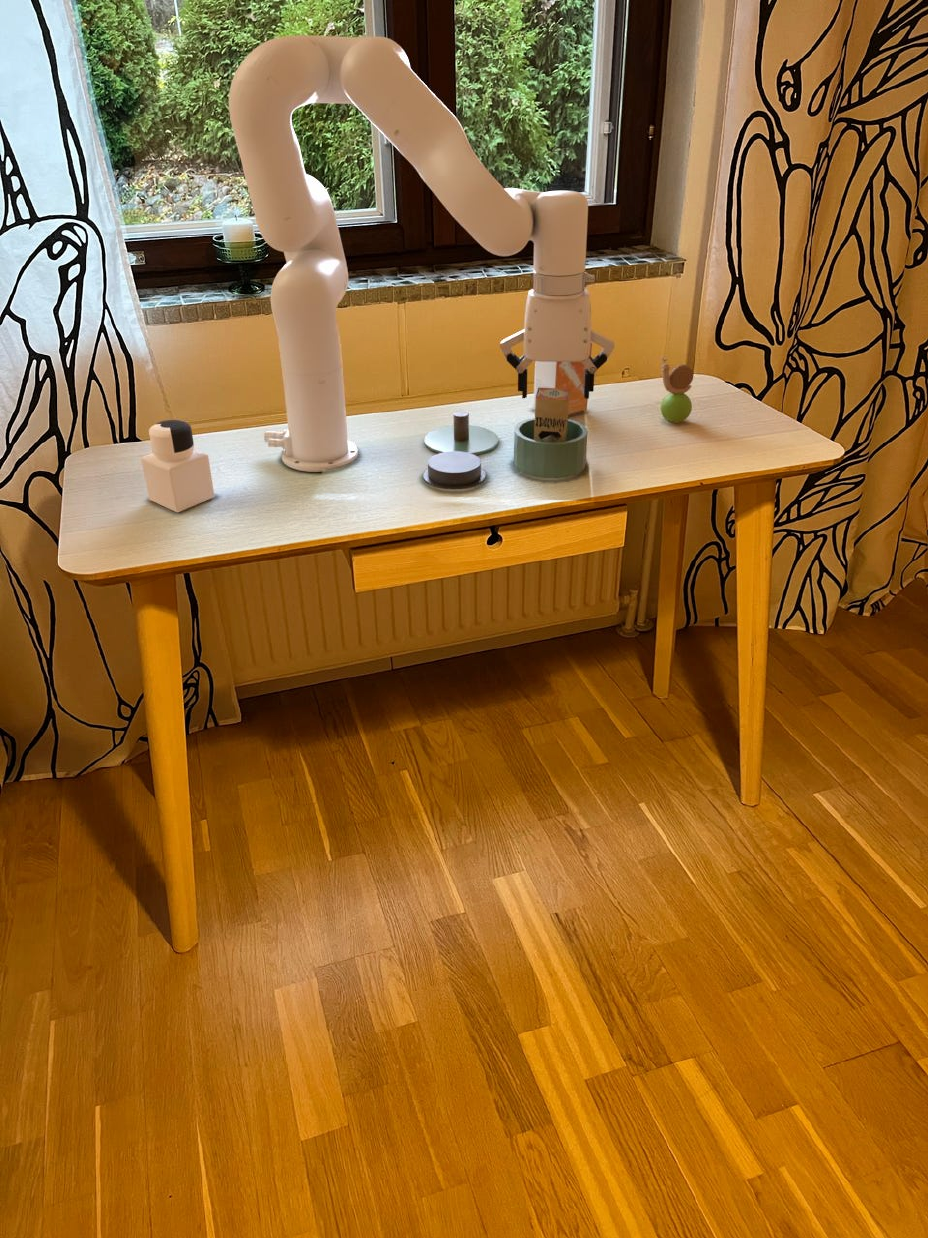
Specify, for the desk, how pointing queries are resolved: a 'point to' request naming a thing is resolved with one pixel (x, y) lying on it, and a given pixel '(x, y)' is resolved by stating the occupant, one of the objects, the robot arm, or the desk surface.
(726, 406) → the desk surface
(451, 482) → the stand
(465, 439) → the tin lid
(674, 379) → the snail figurine
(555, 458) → the tin
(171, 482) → the medicine bottle
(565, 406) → the shoe polish box
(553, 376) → the small box
